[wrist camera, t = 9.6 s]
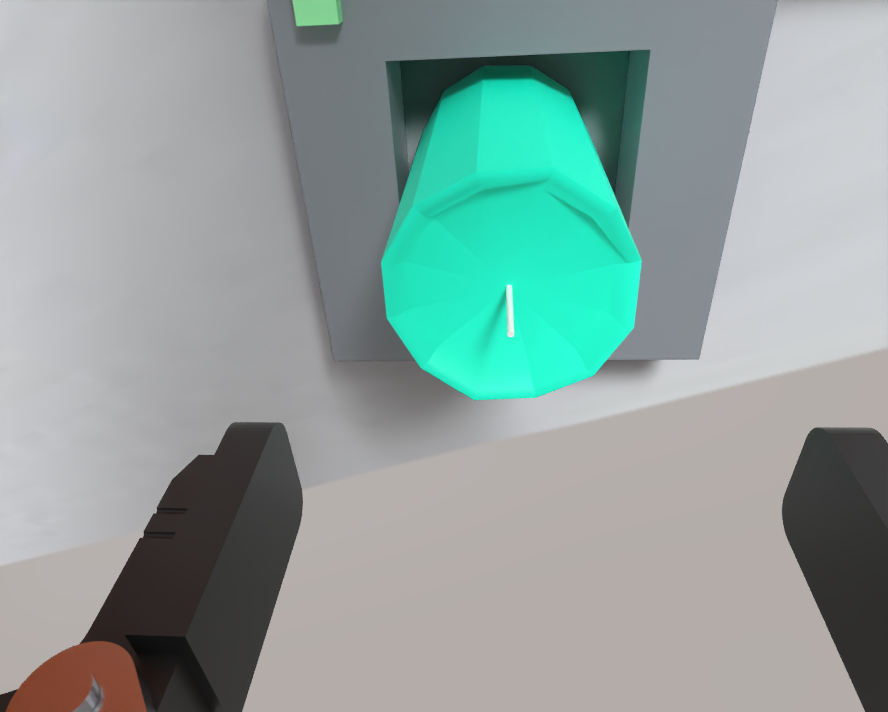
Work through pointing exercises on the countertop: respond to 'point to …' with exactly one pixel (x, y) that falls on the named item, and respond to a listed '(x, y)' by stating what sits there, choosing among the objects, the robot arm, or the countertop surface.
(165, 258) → the countertop surface
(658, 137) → the frame
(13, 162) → the countertop surface
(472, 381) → the candle
